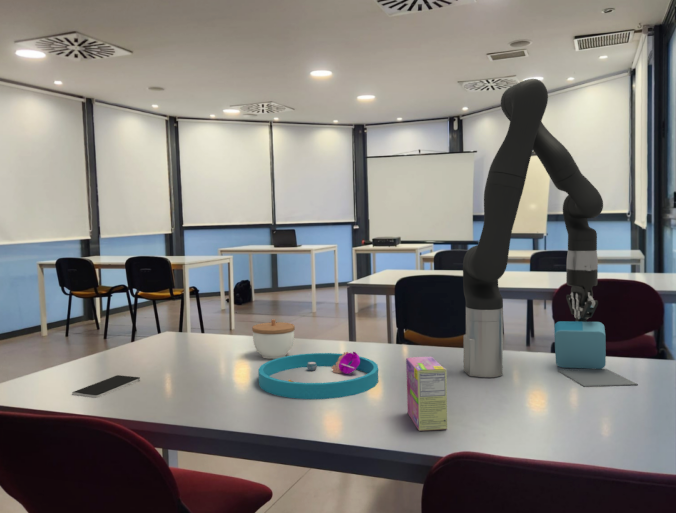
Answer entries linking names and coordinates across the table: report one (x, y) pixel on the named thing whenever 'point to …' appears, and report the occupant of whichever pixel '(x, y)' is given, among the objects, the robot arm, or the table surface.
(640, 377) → the table surface
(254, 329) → the lidded bowl
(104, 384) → the smartphone
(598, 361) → the teal rounded block
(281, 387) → the teal ring
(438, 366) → the box
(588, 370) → the slate mat
